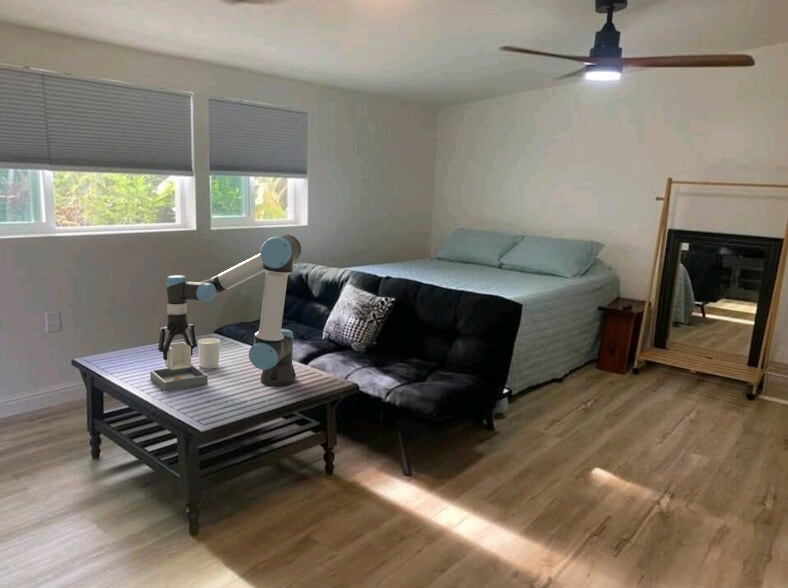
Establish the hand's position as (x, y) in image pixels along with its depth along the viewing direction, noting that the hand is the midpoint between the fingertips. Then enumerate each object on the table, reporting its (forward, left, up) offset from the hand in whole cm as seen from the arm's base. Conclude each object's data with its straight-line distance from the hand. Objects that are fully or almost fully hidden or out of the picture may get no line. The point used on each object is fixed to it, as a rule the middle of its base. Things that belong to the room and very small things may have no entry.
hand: (178, 365), depth 236 cm
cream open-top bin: (0, 0, 0) cm, 0 cm away
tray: (-1, 0, -7) cm, 7 cm away
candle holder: (+13, -19, -7) cm, 24 cm away
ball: (-5, +2, -5) cm, 8 cm away
